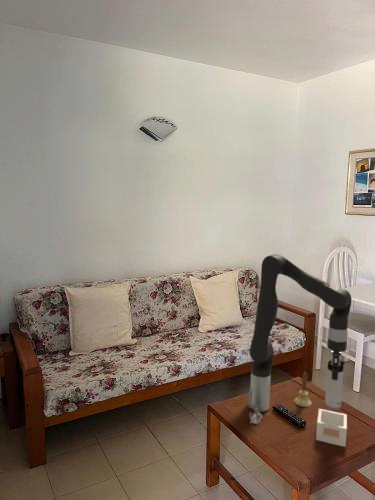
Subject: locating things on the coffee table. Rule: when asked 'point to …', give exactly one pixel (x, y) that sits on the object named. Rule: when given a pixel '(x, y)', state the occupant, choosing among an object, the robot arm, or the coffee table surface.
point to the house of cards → (255, 416)
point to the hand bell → (303, 394)
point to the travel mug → (334, 387)
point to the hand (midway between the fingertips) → (334, 375)
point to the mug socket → (332, 427)
